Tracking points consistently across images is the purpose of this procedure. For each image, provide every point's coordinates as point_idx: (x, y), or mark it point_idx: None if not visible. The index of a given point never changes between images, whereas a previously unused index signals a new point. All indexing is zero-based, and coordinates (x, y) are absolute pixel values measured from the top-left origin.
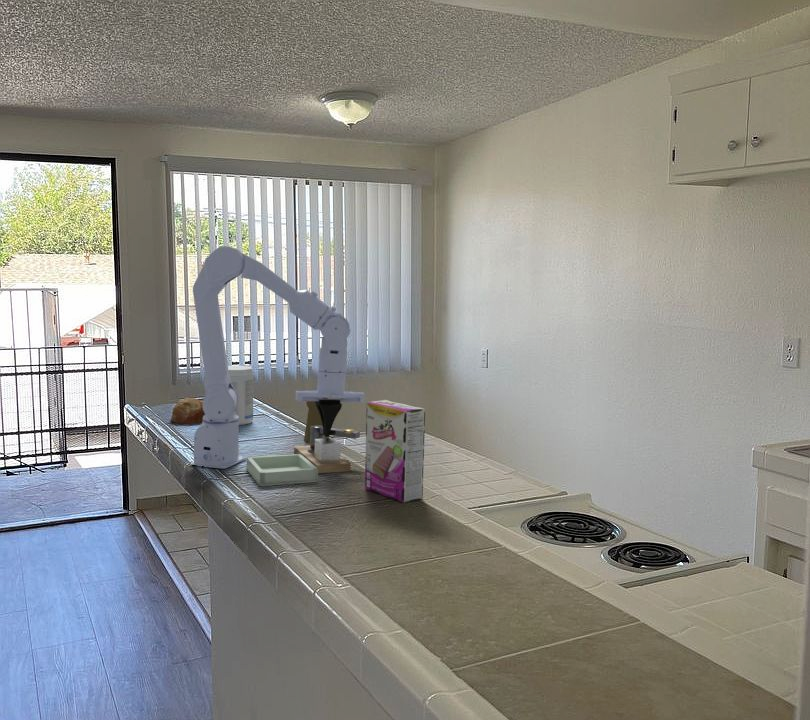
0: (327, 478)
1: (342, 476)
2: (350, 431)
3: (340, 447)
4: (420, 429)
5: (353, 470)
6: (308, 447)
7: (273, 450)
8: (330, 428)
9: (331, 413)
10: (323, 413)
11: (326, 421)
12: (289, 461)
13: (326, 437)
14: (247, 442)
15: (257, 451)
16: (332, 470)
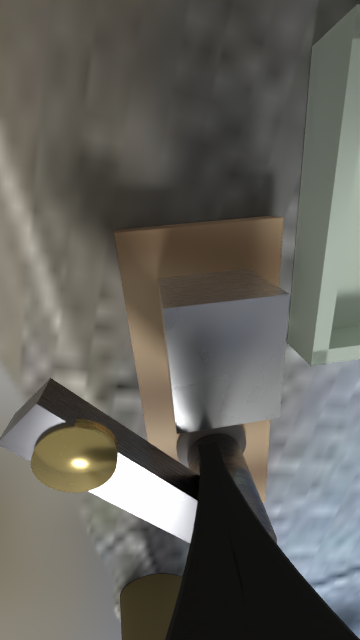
0: (249, 109)
1: (172, 132)
2: (71, 432)
3: (162, 299)
4: None
5: (101, 239)
6: None
7: (296, 509)
8: (204, 482)
9: (242, 615)
10: (325, 604)
11: (254, 524)
12: (343, 334)
13: (130, 600)
14: (326, 569)
15: (339, 501)
16: (201, 222)
